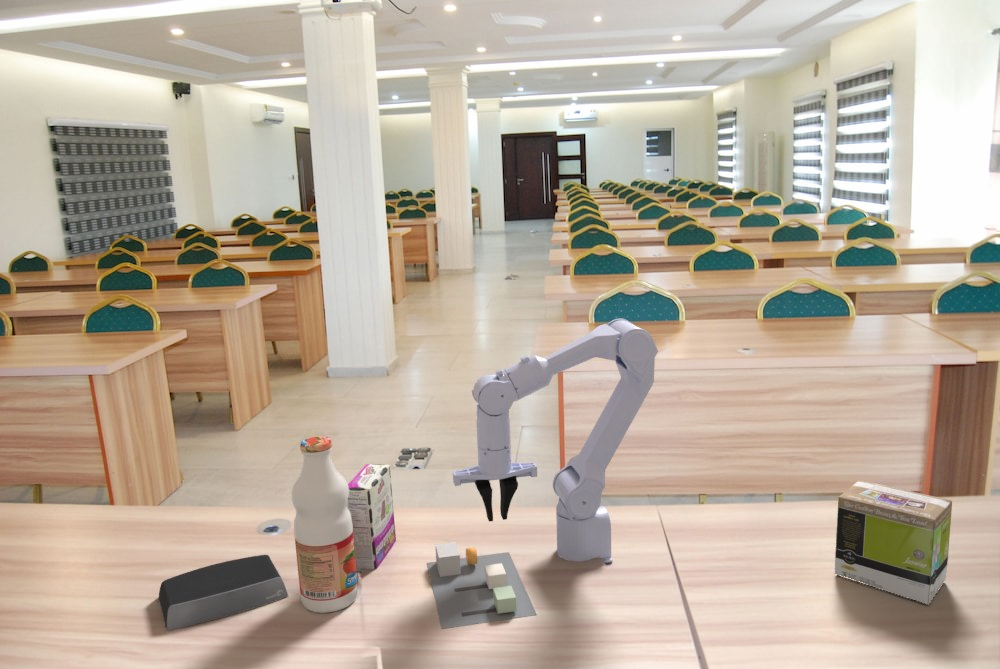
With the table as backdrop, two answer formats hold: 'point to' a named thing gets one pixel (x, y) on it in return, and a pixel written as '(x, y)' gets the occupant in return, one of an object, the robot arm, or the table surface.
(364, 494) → the candy bar box
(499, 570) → the off-white slider
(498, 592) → the sage slider
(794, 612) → the table surface
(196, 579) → the external hard drive
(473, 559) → the orange button
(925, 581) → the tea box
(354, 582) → the fruit juice
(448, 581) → the control panel
